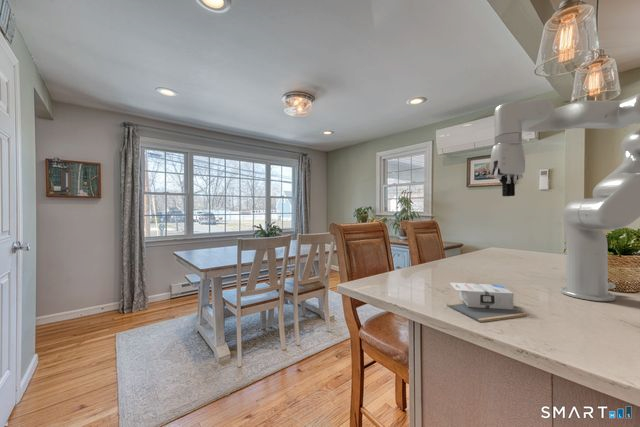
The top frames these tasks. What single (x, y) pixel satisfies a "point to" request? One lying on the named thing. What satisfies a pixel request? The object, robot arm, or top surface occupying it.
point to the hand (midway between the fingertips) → (508, 196)
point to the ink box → (485, 295)
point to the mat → (485, 312)
